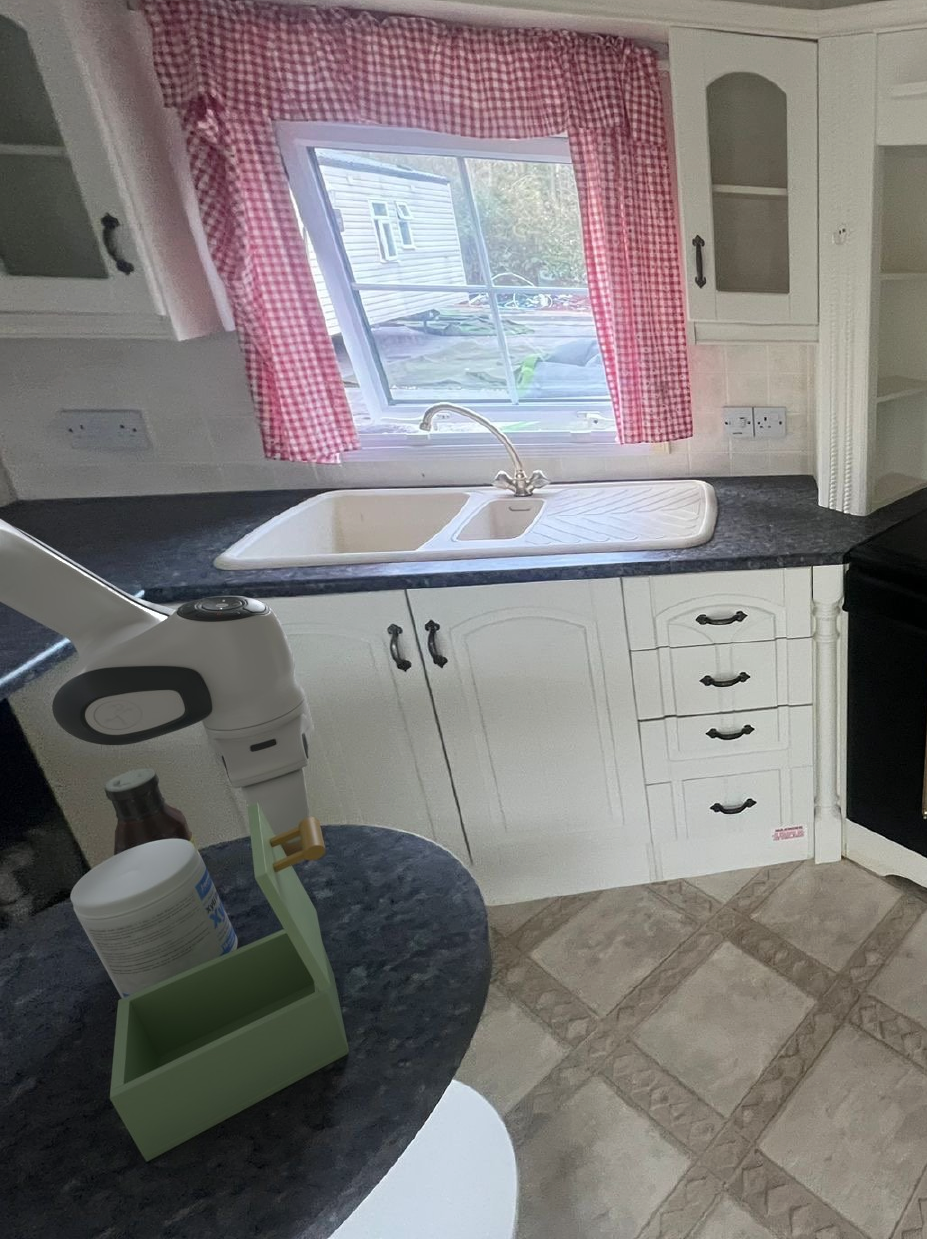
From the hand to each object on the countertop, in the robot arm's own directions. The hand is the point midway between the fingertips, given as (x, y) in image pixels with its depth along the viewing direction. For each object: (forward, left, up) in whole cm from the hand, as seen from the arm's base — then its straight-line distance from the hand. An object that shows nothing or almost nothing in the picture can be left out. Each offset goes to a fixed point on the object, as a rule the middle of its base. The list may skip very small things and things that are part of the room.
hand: (293, 824), depth 89 cm
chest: (-7, -22, -10) cm, 25 cm away
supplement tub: (-12, -5, -10) cm, 17 cm away
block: (-1, 0, -3) cm, 3 cm away
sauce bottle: (-12, +5, -10) cm, 17 cm away
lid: (-1, -22, +7) cm, 23 cm away
